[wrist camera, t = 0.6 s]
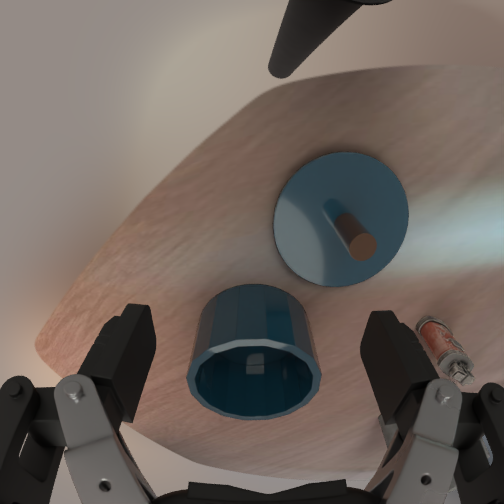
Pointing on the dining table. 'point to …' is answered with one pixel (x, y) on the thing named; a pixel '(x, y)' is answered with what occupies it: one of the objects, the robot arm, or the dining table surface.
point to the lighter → (446, 350)
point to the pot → (253, 354)
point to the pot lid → (340, 219)
